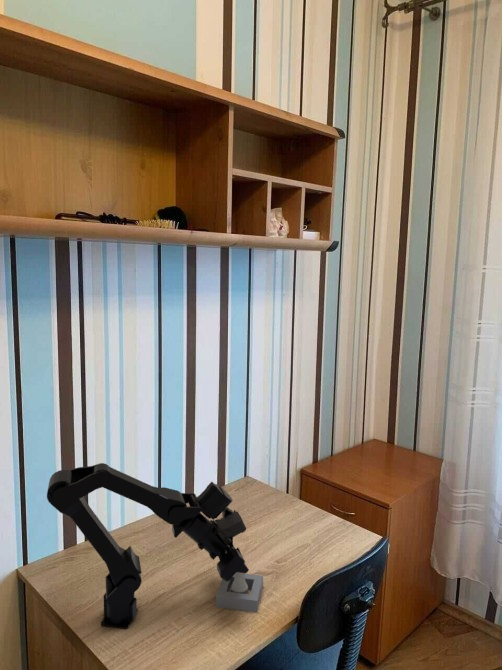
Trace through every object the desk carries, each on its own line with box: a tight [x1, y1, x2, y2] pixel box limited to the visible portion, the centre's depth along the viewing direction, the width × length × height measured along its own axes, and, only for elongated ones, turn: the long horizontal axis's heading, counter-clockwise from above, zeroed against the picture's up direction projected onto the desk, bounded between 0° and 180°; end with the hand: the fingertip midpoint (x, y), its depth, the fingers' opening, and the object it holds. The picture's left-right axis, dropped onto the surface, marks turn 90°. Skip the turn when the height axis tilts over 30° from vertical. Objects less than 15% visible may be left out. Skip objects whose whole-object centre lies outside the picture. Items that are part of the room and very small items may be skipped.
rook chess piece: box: [230, 561, 249, 594], centre depth 128 cm, size 4×4×8 cm
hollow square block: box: [215, 573, 264, 613], centre depth 128 cm, size 10×10×3 cm
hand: (245, 567), depth 128 cm, fingers closed on rook chess piece, 3 cm apart
